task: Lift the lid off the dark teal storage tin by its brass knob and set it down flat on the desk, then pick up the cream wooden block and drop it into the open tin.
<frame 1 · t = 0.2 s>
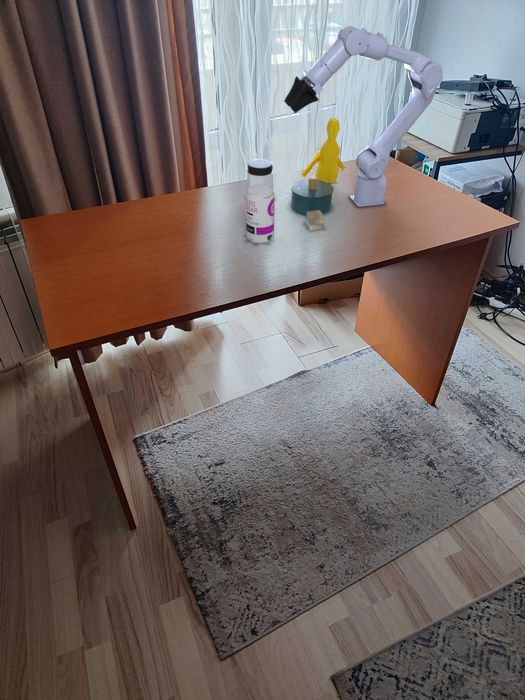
hand: (289, 107, 134), 31 cm above the table, tool tilted 45°, fingers open, 7 cm apart
supplement can: (260, 238, 142), on the table
figure statuette: (324, 182, 172), on the table
jar: (260, 199, 162), on the table
lid: (312, 189, 153), point 6 cm above the table, touching tin
block: (314, 226, 147), on the table
tin: (310, 207, 157), on the table
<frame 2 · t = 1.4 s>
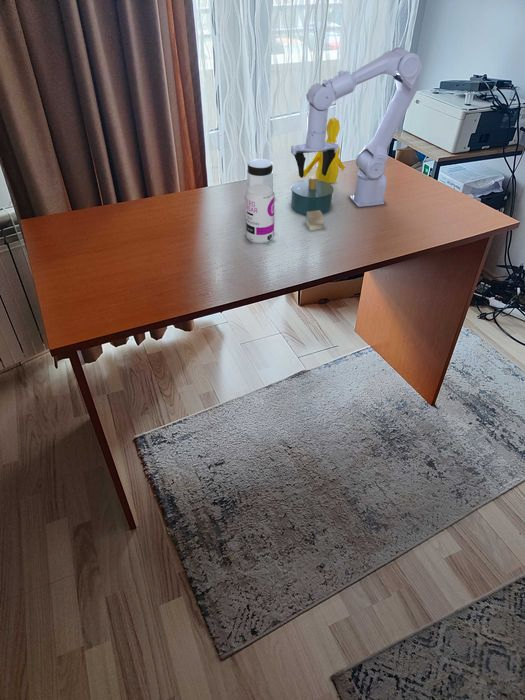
hand: (312, 175, 150), 11 cm above the table, tool pointing down, fingers open, 7 cm apart
nothing on the table moved.
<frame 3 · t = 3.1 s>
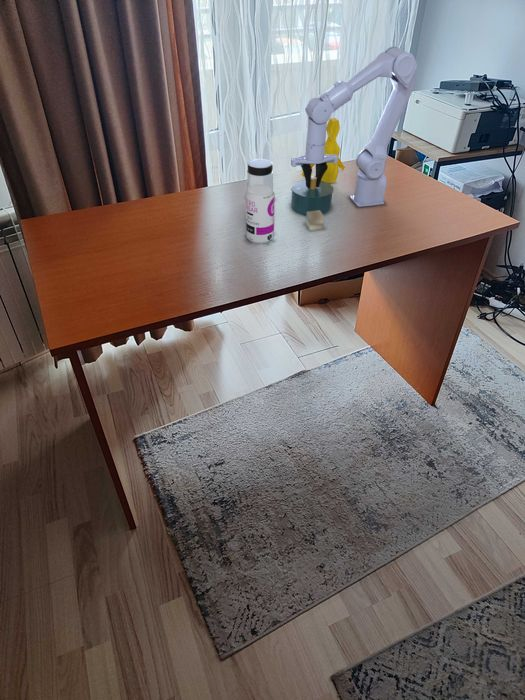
hand: (312, 186, 152), 7 cm above the table, tool pointing down, fingers closed on lid, 2 cm apart
lid: (312, 189, 153), point 6 cm above the table, touching gripper, tin
everything else where it was.
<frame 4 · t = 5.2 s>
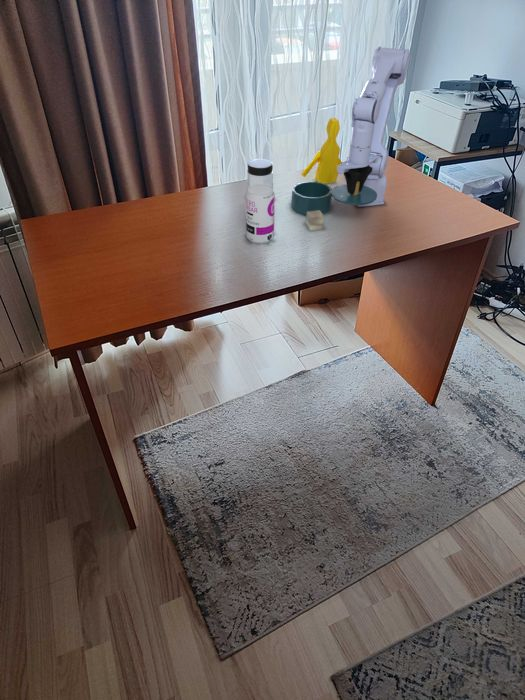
hand: (354, 191, 141), 10 cm above the table, tool pointing down, fingers closed on lid, 2 cm apart
lid: (353, 195, 142), point 9 cm above the table, touching gripper
everything else where it was.
when the fingers open (2 cm above the table, at t = 7.7 s): lid stays where it is, point 1 cm above the table.
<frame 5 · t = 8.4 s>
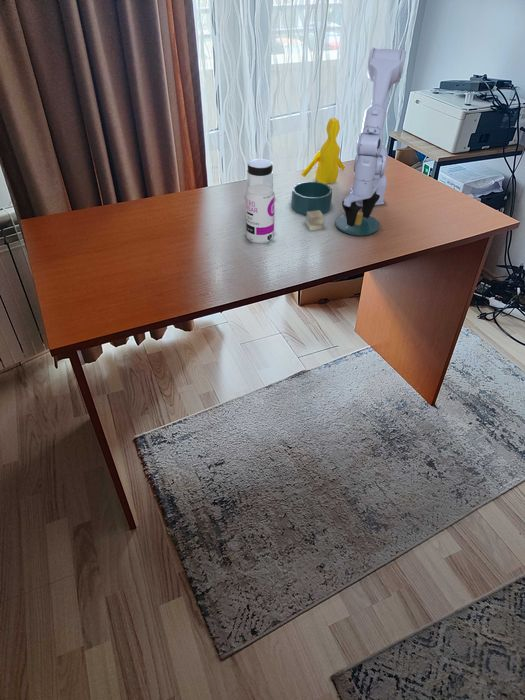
hand: (358, 220, 146), 2 cm above the table, tool pointing down, fingers open, 7 cm apart
lid: (357, 224, 147), point 1 cm above the table
everything else where it was.
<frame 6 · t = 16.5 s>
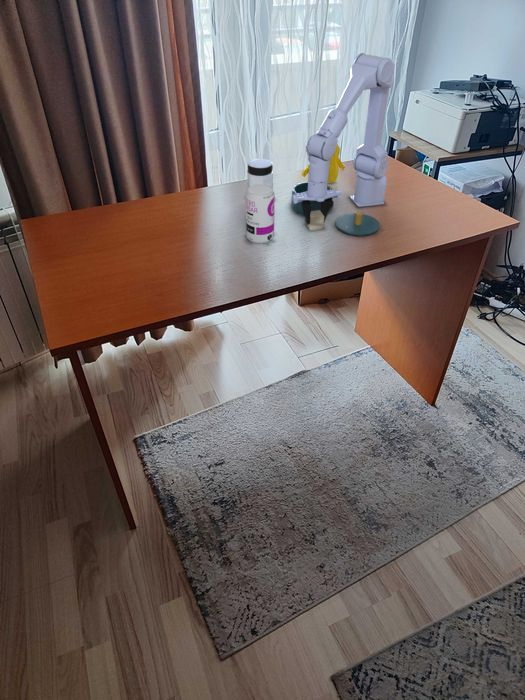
hand: (314, 222, 146), 1 cm above the table, tool pointing down, fingers closed on block, 4 cm apart
block: (314, 226, 147), on the table, touching gripper
everything else where it was.
when the fingers open (2 cm above the table, at t = 21.6 s): block stays where it is, resting on tin.
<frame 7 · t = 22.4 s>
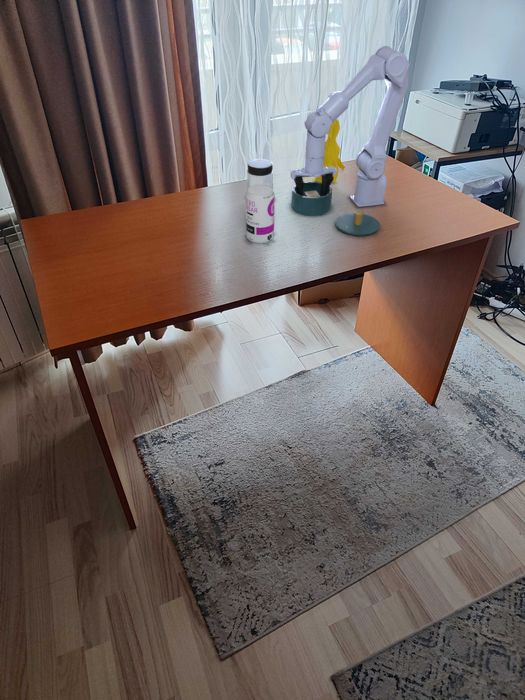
hand: (311, 197, 155), 3 cm above the table, tool pointing down, fingers open, 7 cm apart
block: (311, 205, 157), resting on tin
everything else where it was.
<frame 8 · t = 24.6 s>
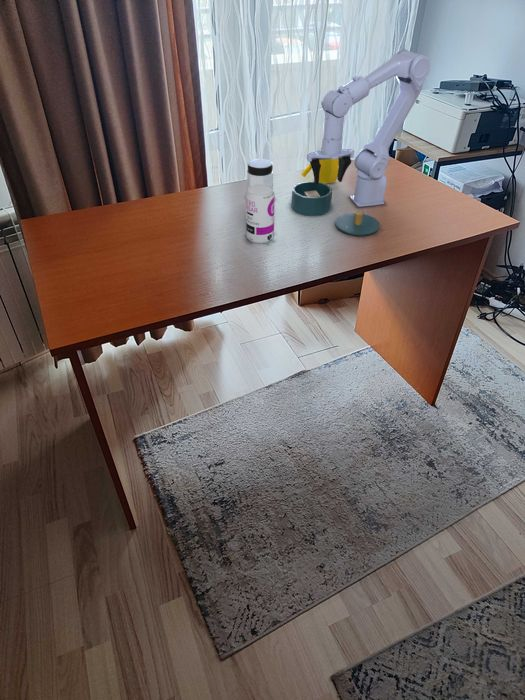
hand: (328, 181, 149), 9 cm above the table, tool pointing down, fingers open, 7 cm apart
nothing on the table moved.
at the end: lid inside the target area (0.1 cm from its centre), point 0.6 cm above the table; lid tilted 0°; block inside the target area in the tin (0.0 cm from its centre), point 0.4 cm above the tin's base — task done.
